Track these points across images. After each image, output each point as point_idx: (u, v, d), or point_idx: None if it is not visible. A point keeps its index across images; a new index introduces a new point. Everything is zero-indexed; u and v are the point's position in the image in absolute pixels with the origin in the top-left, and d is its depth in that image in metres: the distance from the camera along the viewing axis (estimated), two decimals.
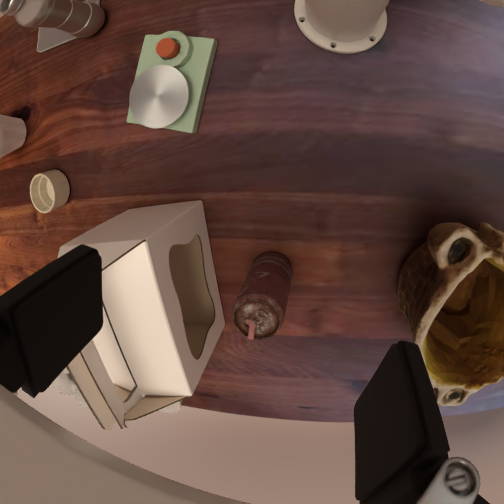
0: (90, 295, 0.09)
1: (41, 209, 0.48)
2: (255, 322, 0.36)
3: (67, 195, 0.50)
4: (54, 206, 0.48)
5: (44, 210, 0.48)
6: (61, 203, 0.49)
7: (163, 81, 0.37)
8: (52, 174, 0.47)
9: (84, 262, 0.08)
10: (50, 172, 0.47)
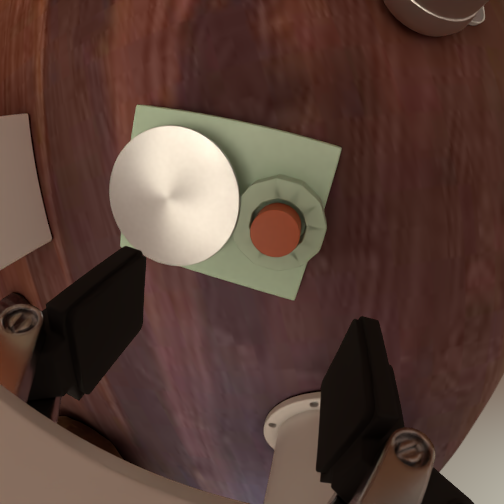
0: (134, 296, 0.09)
1: None
2: None
3: None
4: None
5: None
6: None
7: (198, 214, 0.19)
8: None
9: (132, 264, 0.09)
10: None
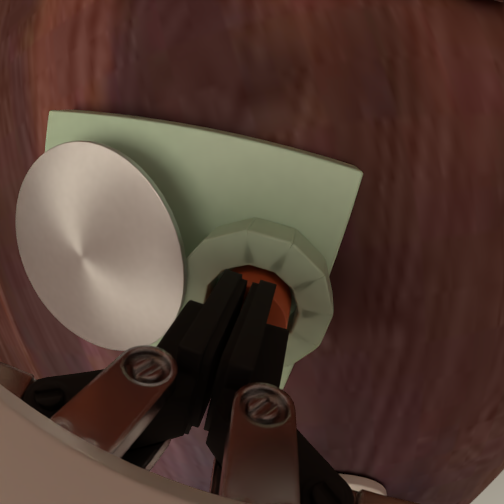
0: (235, 320, 0.10)
1: None
2: None
3: None
4: None
5: None
6: None
7: (124, 283, 0.12)
8: None
9: (241, 289, 0.09)
10: None
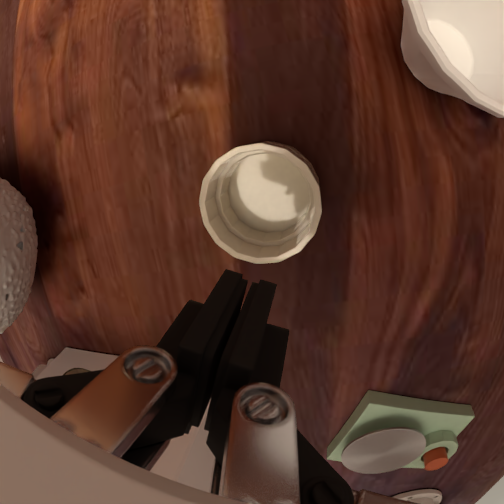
0: (235, 320, 0.10)
1: (210, 184, 0.19)
2: None
3: None
4: None
5: (207, 197, 0.19)
6: None
7: (398, 457, 0.26)
8: None
9: (241, 289, 0.09)
10: None
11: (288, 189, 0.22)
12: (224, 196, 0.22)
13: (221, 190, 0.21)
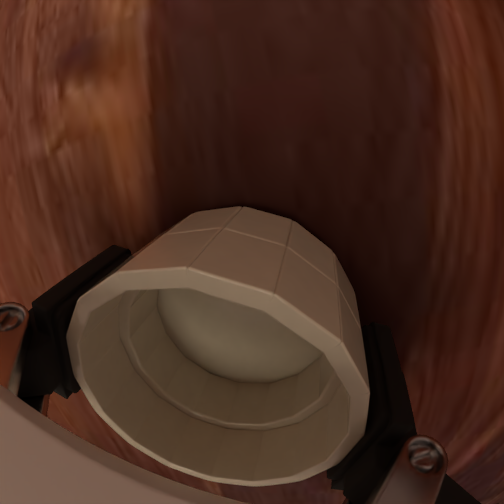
0: None
1: (86, 343, 0.07)
2: None
3: None
4: None
5: (90, 365, 0.07)
6: None
7: None
8: None
9: (119, 262, 0.09)
10: None
11: None
12: (146, 327, 0.10)
13: (131, 327, 0.09)
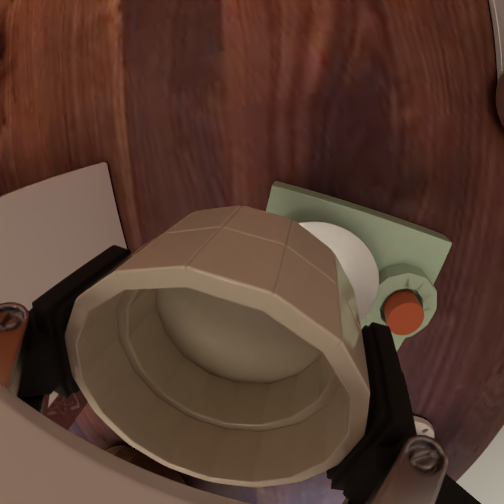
0: None
1: (85, 343, 0.07)
2: None
3: None
4: None
5: (89, 365, 0.07)
6: None
7: None
8: None
9: (119, 262, 0.09)
10: None
11: None
12: (145, 327, 0.10)
13: (130, 326, 0.09)
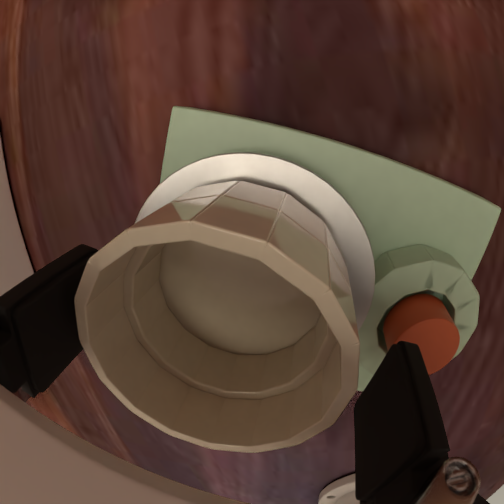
0: None
1: (93, 307, 0.07)
2: None
3: None
4: None
5: (96, 330, 0.08)
6: None
7: None
8: None
9: (84, 262, 0.08)
10: None
11: (280, 284, 0.10)
12: (148, 298, 0.10)
13: (135, 296, 0.09)
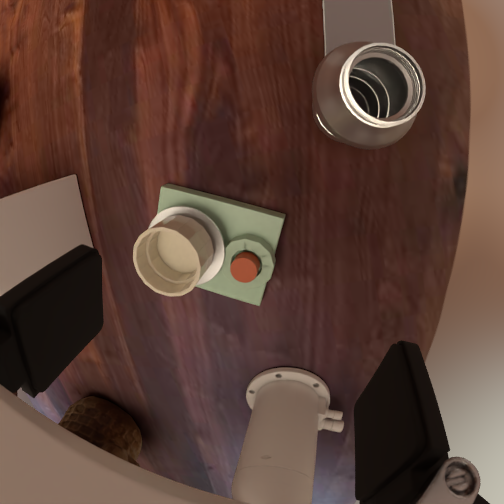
0: (90, 295, 0.09)
1: (138, 248, 0.30)
2: None
3: None
4: None
5: (138, 256, 0.31)
6: None
7: None
8: None
9: (84, 262, 0.08)
10: (205, 269, 0.31)
11: None
12: (153, 250, 0.33)
13: (149, 248, 0.32)
